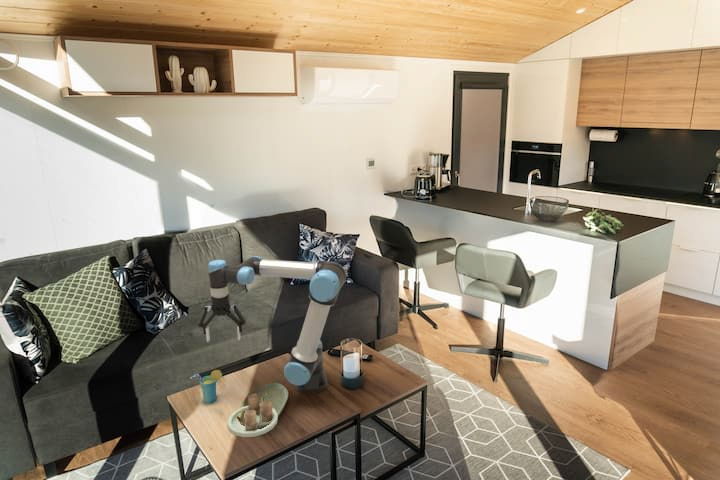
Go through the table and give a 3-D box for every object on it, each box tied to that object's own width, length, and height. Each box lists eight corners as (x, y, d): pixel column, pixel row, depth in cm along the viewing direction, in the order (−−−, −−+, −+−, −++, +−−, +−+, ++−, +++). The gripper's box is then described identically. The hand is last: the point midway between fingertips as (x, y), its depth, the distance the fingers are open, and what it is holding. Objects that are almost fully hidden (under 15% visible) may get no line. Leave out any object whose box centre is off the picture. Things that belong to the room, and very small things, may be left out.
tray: (279, 407, 215) (278, 402, 214) (275, 436, 196) (275, 431, 195) (232, 411, 213) (232, 406, 213) (224, 440, 194) (224, 435, 193)
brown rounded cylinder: (273, 417, 207) (272, 400, 205) (272, 423, 203) (271, 406, 201) (262, 417, 207) (260, 400, 205) (261, 424, 202) (259, 407, 200)
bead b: (257, 426, 201) (256, 409, 199) (256, 433, 197) (255, 415, 195) (246, 427, 201) (244, 410, 199) (244, 434, 196) (243, 416, 194)
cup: (196, 411, 214) (192, 380, 210) (190, 403, 220) (186, 373, 216) (226, 399, 222) (223, 369, 218) (219, 392, 228) (217, 362, 224)
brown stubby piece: (259, 416, 208) (258, 399, 206) (248, 417, 207) (247, 400, 205) (260, 410, 212) (259, 393, 210) (249, 410, 212) (248, 394, 210)
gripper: (249, 290, 220) (253, 334, 225) (192, 293, 218) (197, 337, 223) (247, 296, 213) (251, 341, 218) (188, 299, 211) (193, 345, 216)
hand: (223, 339), depth 221 cm, fingers open, 13 cm apart
